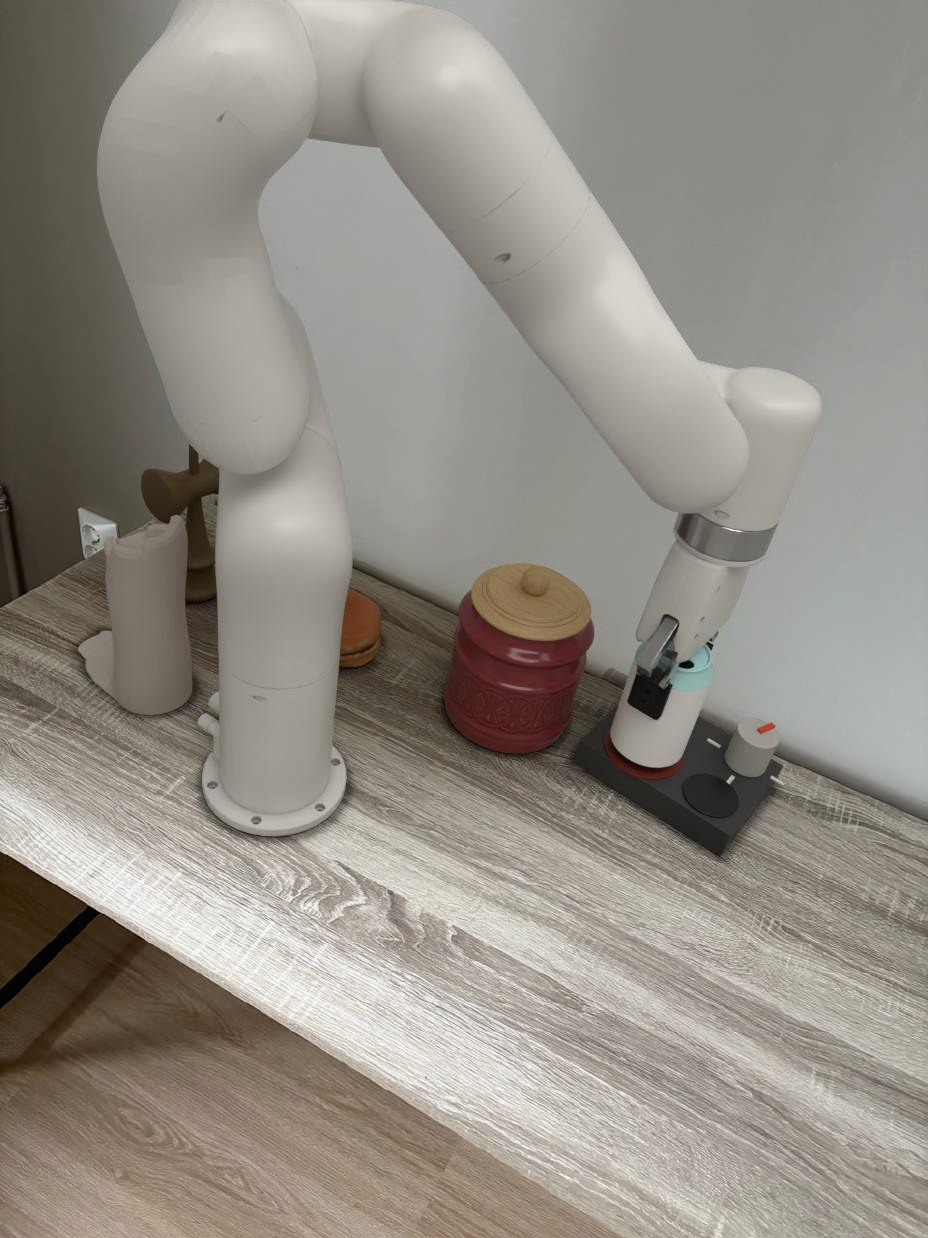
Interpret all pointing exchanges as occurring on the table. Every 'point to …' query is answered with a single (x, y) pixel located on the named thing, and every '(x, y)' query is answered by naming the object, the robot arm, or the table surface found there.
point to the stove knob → (752, 747)
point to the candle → (145, 622)
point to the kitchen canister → (518, 657)
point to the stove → (667, 793)
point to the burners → (698, 789)
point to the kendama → (171, 498)
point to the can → (672, 730)
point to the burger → (359, 630)
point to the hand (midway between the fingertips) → (664, 689)
